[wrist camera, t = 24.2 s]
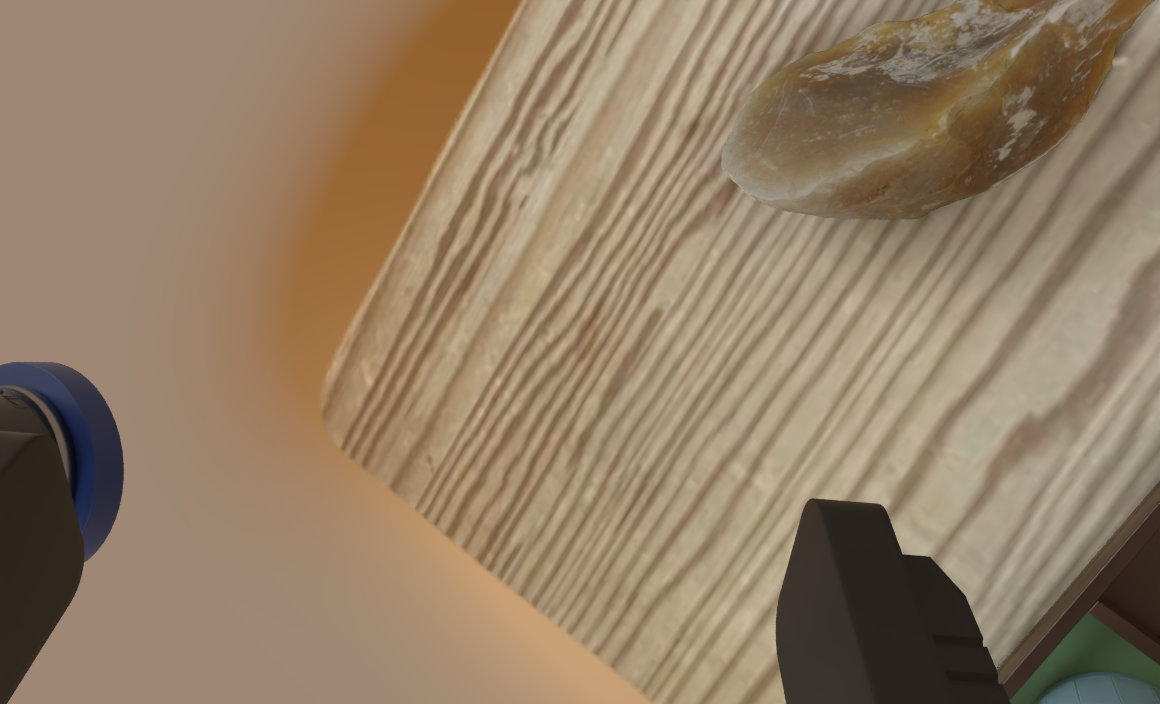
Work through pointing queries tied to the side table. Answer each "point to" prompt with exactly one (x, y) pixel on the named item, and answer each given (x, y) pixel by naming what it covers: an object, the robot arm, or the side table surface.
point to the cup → (1101, 690)
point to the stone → (924, 107)
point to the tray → (1099, 616)
